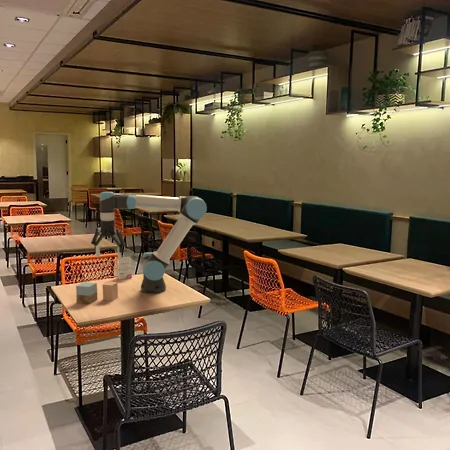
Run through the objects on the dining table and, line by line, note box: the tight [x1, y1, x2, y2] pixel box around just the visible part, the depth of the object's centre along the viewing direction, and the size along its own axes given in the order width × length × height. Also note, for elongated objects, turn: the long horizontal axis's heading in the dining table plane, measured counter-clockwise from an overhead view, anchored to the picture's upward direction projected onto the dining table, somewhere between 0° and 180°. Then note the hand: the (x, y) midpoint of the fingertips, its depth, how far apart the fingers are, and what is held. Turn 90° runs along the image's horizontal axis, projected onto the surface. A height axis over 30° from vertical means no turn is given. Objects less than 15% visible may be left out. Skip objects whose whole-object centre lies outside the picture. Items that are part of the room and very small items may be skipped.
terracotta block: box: [102, 281, 119, 302], centre depth 254 cm, size 6×6×9 cm
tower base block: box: [76, 291, 98, 305], centre depth 249 cm, size 8×8×5 cm
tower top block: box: [75, 281, 98, 296], centre depth 249 cm, size 8×8×5 cm
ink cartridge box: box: [116, 256, 133, 280], centre depth 298 cm, size 9×5×15 cm, turn 118°
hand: (108, 257), depth 251 cm, fingers open, 13 cm apart
